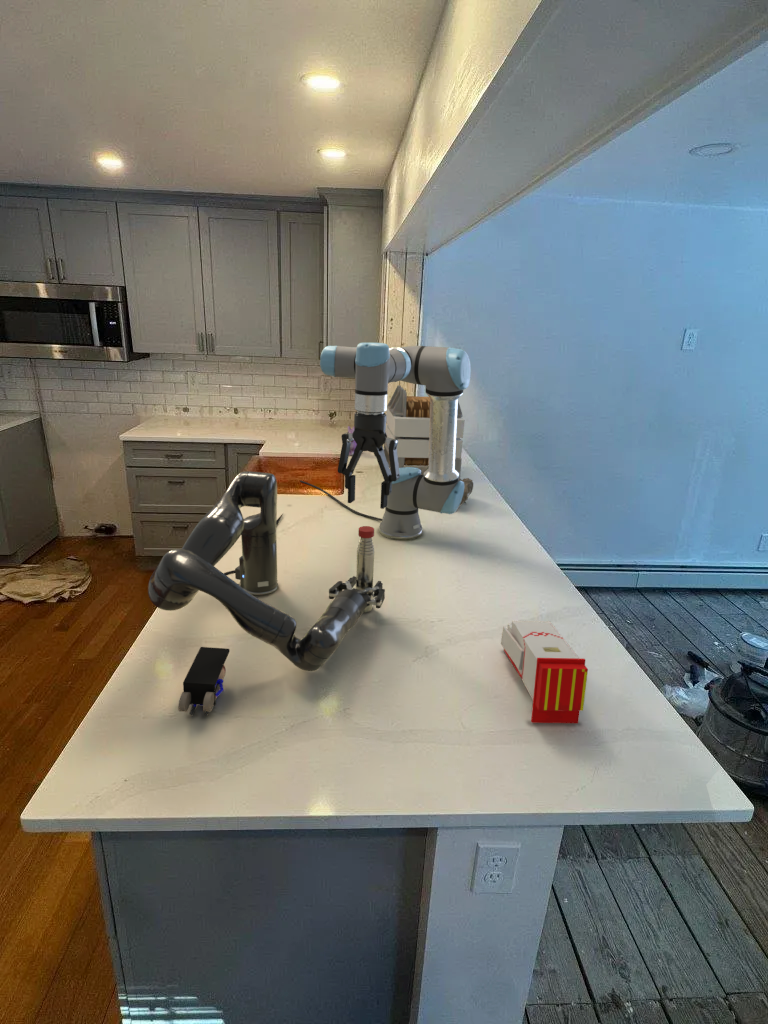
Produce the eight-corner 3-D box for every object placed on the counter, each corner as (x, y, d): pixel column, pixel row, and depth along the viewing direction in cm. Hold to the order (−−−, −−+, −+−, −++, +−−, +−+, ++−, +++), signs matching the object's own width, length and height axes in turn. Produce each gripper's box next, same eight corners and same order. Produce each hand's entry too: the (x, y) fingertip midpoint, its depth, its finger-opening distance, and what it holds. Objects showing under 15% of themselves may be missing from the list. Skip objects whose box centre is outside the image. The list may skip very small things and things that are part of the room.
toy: (547, 606, 135) (596, 665, 106) (541, 658, 138) (589, 729, 108) (496, 604, 134) (532, 664, 105) (492, 657, 137) (526, 729, 108)
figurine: (348, 456, 299) (349, 428, 294) (341, 451, 307) (341, 424, 302) (364, 455, 303) (365, 427, 298) (356, 450, 312) (357, 423, 307)
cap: (358, 538, 141) (358, 531, 140) (358, 532, 144) (358, 525, 144) (374, 538, 141) (374, 532, 140) (374, 532, 144) (374, 526, 144)
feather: (290, 508, 223) (292, 504, 223) (272, 532, 197) (275, 527, 196) (286, 505, 223) (289, 501, 223) (268, 529, 197) (271, 525, 196)
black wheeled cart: (215, 728, 107) (233, 673, 120) (211, 698, 104) (230, 644, 117) (179, 727, 107) (201, 672, 120) (174, 697, 103) (197, 644, 117)
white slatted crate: (382, 463, 289) (386, 382, 275) (445, 464, 293) (451, 384, 279) (390, 482, 257) (394, 392, 243) (460, 483, 261) (468, 394, 247)
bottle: (355, 612, 147) (357, 533, 140) (355, 604, 152) (357, 526, 144) (371, 612, 148) (375, 533, 140) (372, 604, 152) (375, 527, 144)
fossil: (437, 484, 244) (466, 465, 239) (450, 500, 247) (479, 482, 242) (436, 505, 224) (468, 485, 219) (450, 523, 227) (482, 504, 222)
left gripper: (316, 619, 138) (341, 589, 153) (372, 631, 134) (392, 599, 149) (316, 591, 135) (342, 564, 150) (373, 603, 131) (394, 573, 146)
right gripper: (418, 414, 132) (412, 506, 140) (337, 405, 139) (335, 493, 146) (407, 419, 125) (402, 515, 133) (323, 409, 132) (322, 502, 140)
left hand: (367, 581), depth 149 cm, fingers open, 6 cm apart
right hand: (367, 504), depth 140 cm, fingers open, 8 cm apart
